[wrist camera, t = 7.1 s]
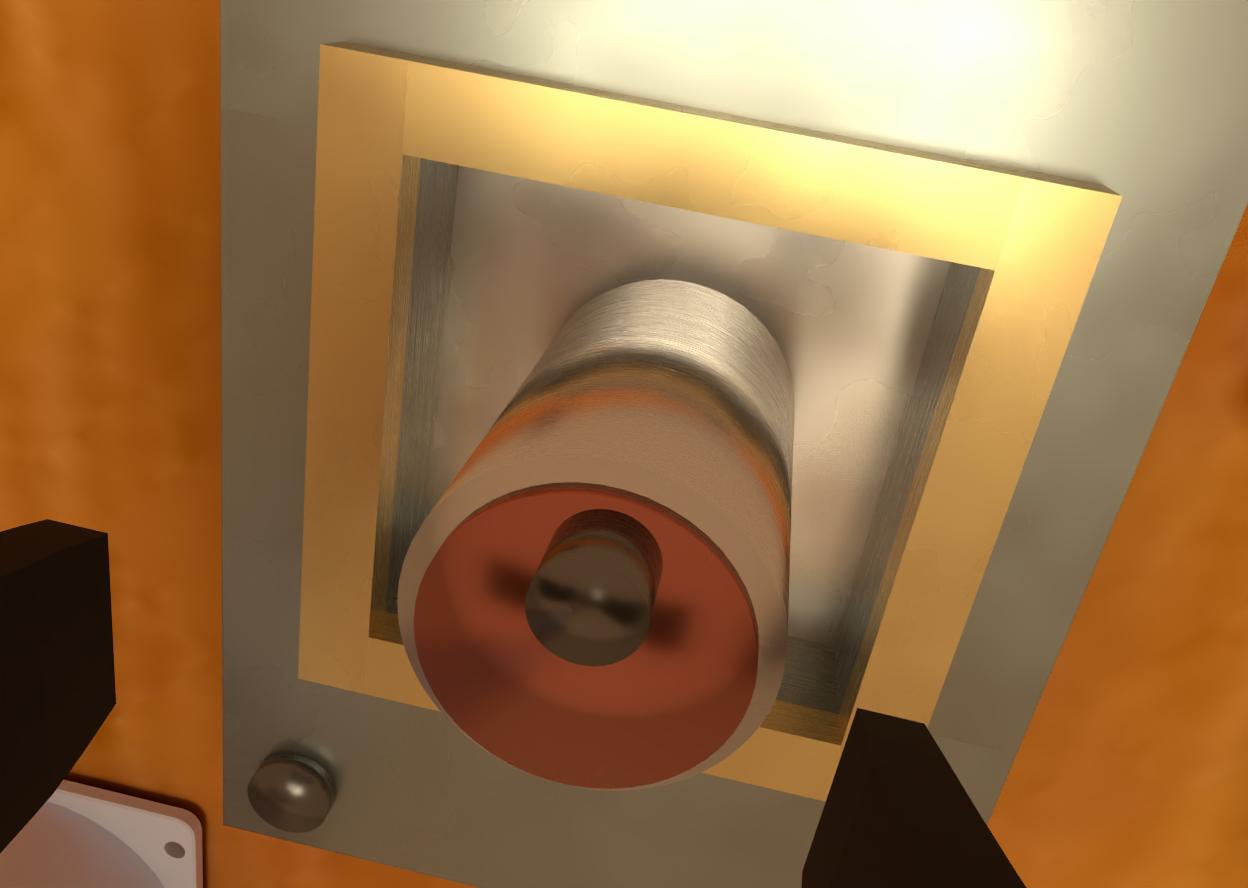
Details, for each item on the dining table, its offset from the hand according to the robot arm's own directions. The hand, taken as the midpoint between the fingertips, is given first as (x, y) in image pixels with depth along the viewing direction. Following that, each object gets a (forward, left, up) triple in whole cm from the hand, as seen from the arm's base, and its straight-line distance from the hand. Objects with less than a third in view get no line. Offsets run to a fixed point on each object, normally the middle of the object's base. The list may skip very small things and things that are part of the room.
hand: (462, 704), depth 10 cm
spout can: (0, -1, -9) cm, 9 cm away
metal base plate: (0, -1, -10) cm, 10 cm away
